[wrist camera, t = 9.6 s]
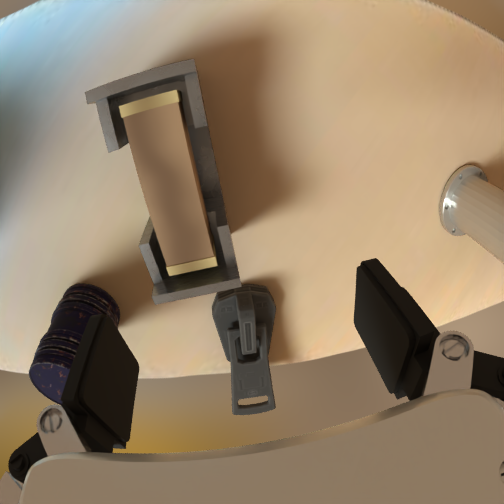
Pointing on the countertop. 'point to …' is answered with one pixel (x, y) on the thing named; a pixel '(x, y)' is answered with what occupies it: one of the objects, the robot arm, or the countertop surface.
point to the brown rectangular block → (170, 181)
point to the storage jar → (68, 336)
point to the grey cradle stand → (116, 137)
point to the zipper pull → (247, 343)
